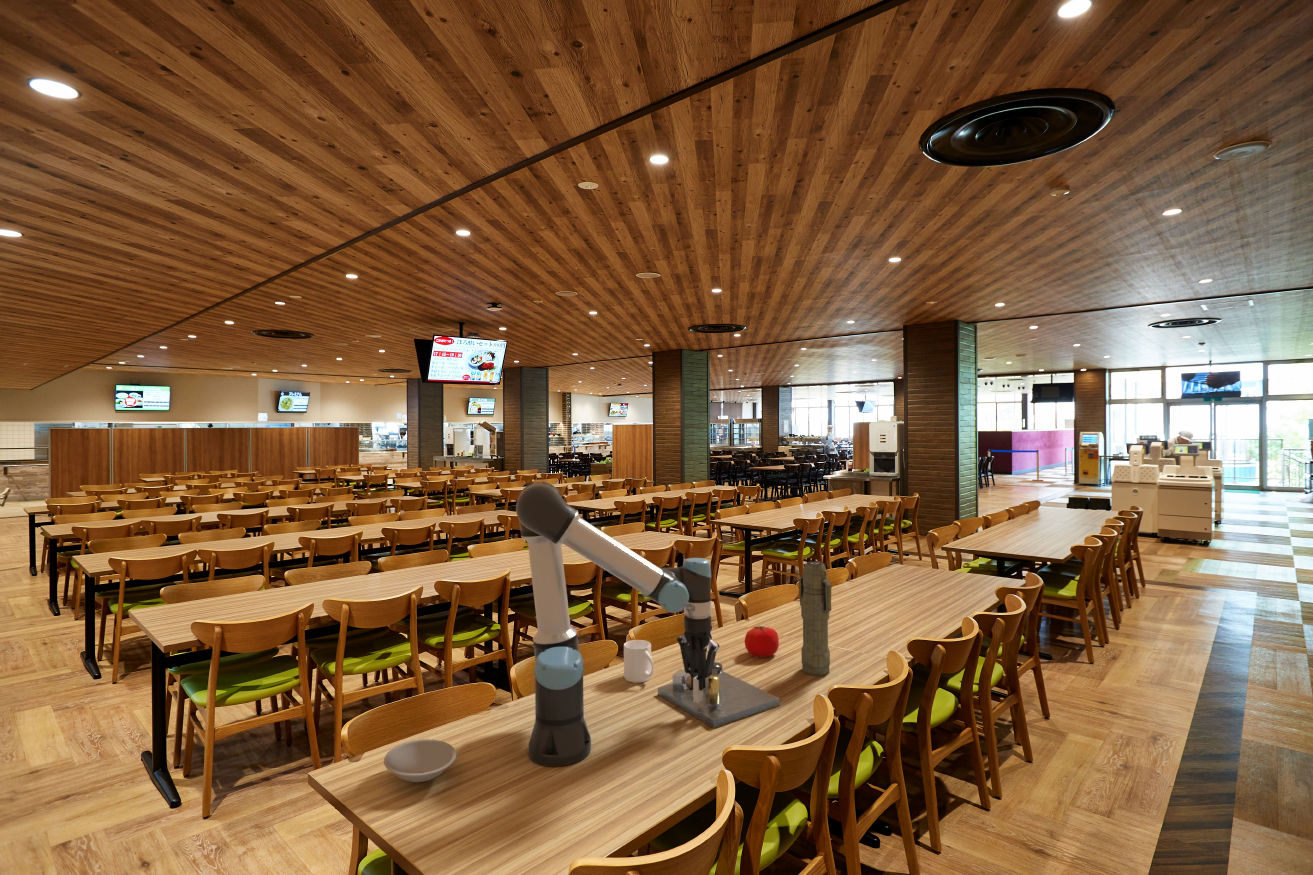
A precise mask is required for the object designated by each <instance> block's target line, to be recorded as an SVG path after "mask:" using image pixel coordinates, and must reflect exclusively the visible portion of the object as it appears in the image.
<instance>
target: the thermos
mask: <svg viewBox="0 0 1313 875" xmlns="http://www.w3.org/2000/svg"><path fill="white" fill-rule="evenodd" d="M825 565H826V564H824V563H823V562H820V561H808V562H806V563H805V564H804V567H803V569H802V574H801V575H800V577H799V578H798V580H799V582H798V583H799V584H798V585H799V587H798V588H799V590H798V591H799V592H798V594H799V606H800V609H801V610H800V612H801V614H800V616H801V618H802V643H803V644H802V647H801V665H802V666H801V671H802V672H803V673H804V674H806V675H808V676H813V677H825V676H828V675H829V674H830V665H831V651H830V648H829V622H828V621H829V620H830V612H831V611H832V583H831V581H830V580H829V579H828V572H827V569H826V566H825Z"/></svg>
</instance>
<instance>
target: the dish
mask: <svg viewBox="0 0 1313 875" xmlns="http://www.w3.org/2000/svg"><path fill="white" fill-rule="evenodd" d="M456 751H457V750H456V749H455V747H453V746H452V745H451V744H450V743H447V742H445V741H443V740H438V739H431V738H430V739H429V738H427V739H416V740H410V741H406V742H403V743H401V744H398V745H396V746H394V747H393V748H392V749H389V751H387V753H386V754H385V756H384V758H383V765H384V767H385V768H386V770H387V771H389V772H391V773H393V774H394V775H395V776H396V777H397V778H399V779H400V780H403V781H406V782H411V783H423V782H426V781H427V782H428V781H430V780H433V779H435V778H437V777H438V776H440V775H441V774H442V773H444V772H445V771H446V770H447V769H448V768H449V767H450V766H451V765H453V763H454V762H455V760H456V757H457V752H456Z"/></svg>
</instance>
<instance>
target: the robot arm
mask: <svg viewBox="0 0 1313 875" xmlns="http://www.w3.org/2000/svg"><path fill="white" fill-rule="evenodd" d="M515 511H516V512H515V513H516V516H517V518H518V521H519V522H518V523H519V528H520V530H519V531H520V537H521V538H522V539H523V540H525V541H526V543H527V547H528V555H529V564H530V571H531V572H530V574H531V582H532V591H533V592H532V593H533V599H534V606H535V607H534V608H535V609H534V610H535V616H536V625H537V631H536V633H535V634H534V636H533V637H532V642H533V644H532V645H533V652H534V659H535V660H534V662H535V664H534V669H533V674H534V689H535V690H534V691H535V692H534V693H535V694H534V696H535V698H534V699H535V700H534V701H535V702H534V704H535V706H534V707H535V710H534V712H535V713H534V714H535V721H534V725H533V728H532V732H531V734H530V737H529V741H528V746H527V747H528V752H527V753H528V758H529V759H530V760H531V761H532V762H533V763H535V764H538V765H541V766H545V767H565V766H570V765H574V764H576V763H578V762H581V761H582V760H584V759H586V758H587V757H588V756H589V755H590V753H591V751H592V738H591V734H590V731H589V729H588V725H587V723H586V720H585V716H584V715H585V714H584V712H585V711H584V705H585V704H584V672H585V665H584V659H583V655H582V654H581V652H580V650H579V649H580V648H579V639H578V630H577V629H575V628H574V627H573V626H571V620H570V611H569V602H568V593H567V584H566V576H565V566H564V557H563V549H562V544H563V545H565V546H566V547H568V548H569V549H571V550H572V551H574V552H575V553H577V554H579V555H581V556H582V557H584V558H585V559H587V560H589V561H590V562H592V563H594V564H595V565H597V566H598V567H600V568H601V569H604V571H607V572H608V573H609V574H611V575H612V576H615V577H616V578H618V579H619V580H621V581H622V582H624V583H625V584H627V585H628V586H631V587H632V588H633V589H635V590H636V591H638V592H640V593H641V595H642V596H643V597H644V598H649V599H651V600H652V601H654V602H655V603H657V604H658V605H659V606H660V607H661V608H662V609H663V610H665V611H667V612H668V613H673V614H674V613H679V612H681V611H683V613H684V617H683V628H684V632H683V635H680V636H678V637H677V638H676V641H677V643H678V645H679V647H680V654H681V657H682V658H681V659H682V663H683V670H685V672H686V673H688V674H689V675H690V676H691V687H692V688H693V702H696V703H699V702H700V701H702V700H703V690H704V689H705V678H708V677H709V676H711V675H712V670H713V666H714V662H715V659H716V655H717V651H718V650H719V648H720V644H719V643H715V641H714V640H713V636H712V633H711V632H712V616H711V614H712V596H711V595H712V592H711V591H712V570H711V568H712V567H711V563H710V561H709V560H708V559H707V558H702V557H690V558H686V559H685V558H684V560H683V564H682V566H680V567H658V566H657V565H655V564H653V563H652V562H651V561H649V560H647V559H645V558H644V557H642V556H641V555H639V554H638V553H636V552H635V551H633V550H632V549H630V548H629V547H628V546H625V545H624V544H622V543H621V542H619V541H618V540H616V539H615V538H613V537H611V536H610V535H608V534H606V532H603V531H602V530H600V529H599V528H597V527H596V526H594V525H593V524H591V523H590V522H588V521H587V520H585V519H584V518H582V517H581V516H580V514H579V511H578V510H577V509H575V507H572V506H571V505H570V504H569V503H567V502H566V501H565V500H564V499H563V496H562V495H561V492H560V490H559V489H558V488H557V487H556V486H555V485H553V484H552V483H549V482H547V481H546V482H545V481H536V482H533V483H532V482H531V483H529V484H528V485H526V486H525V487H524V488H523V489H522V490H521V491H520V493H519V496H518V497H517V501H516V506H515Z"/></svg>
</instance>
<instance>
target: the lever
mask: <svg viewBox="0 0 1313 875" xmlns="http://www.w3.org/2000/svg"><path fill="white" fill-rule="evenodd" d="M722 671H723V664H722V663H720V662H715V661H714V666H713V670H712V675H711V676H709V677H708V678H705V690H708V703H709V704H712V705H716V704H719V677H718V674H720V673H722Z"/></svg>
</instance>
